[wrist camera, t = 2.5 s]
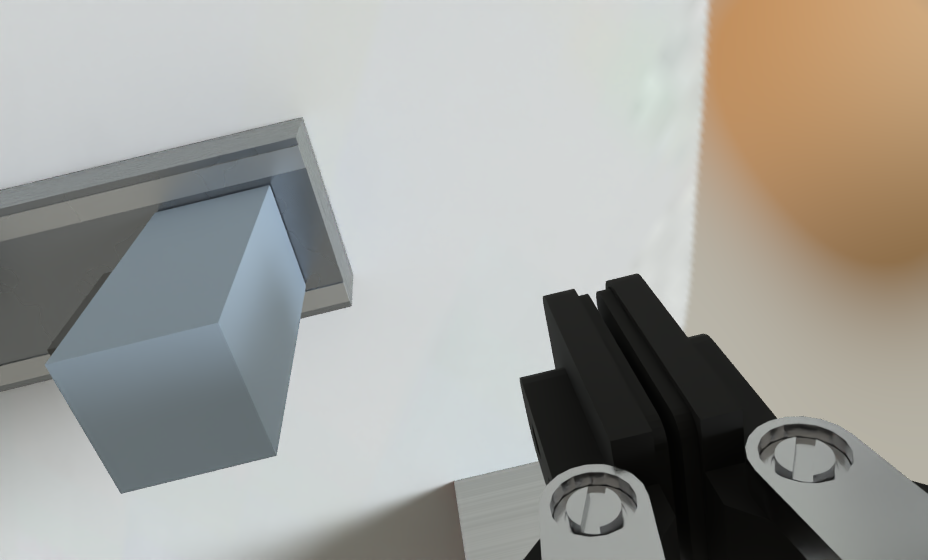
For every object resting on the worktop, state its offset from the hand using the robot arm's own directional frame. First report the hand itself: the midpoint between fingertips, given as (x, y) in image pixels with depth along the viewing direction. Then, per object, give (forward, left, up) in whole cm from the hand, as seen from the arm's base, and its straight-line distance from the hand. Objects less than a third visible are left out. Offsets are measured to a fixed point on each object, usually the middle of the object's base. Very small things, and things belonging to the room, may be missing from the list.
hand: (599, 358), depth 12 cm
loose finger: (-1, -8, -8) cm, 11 cm away
